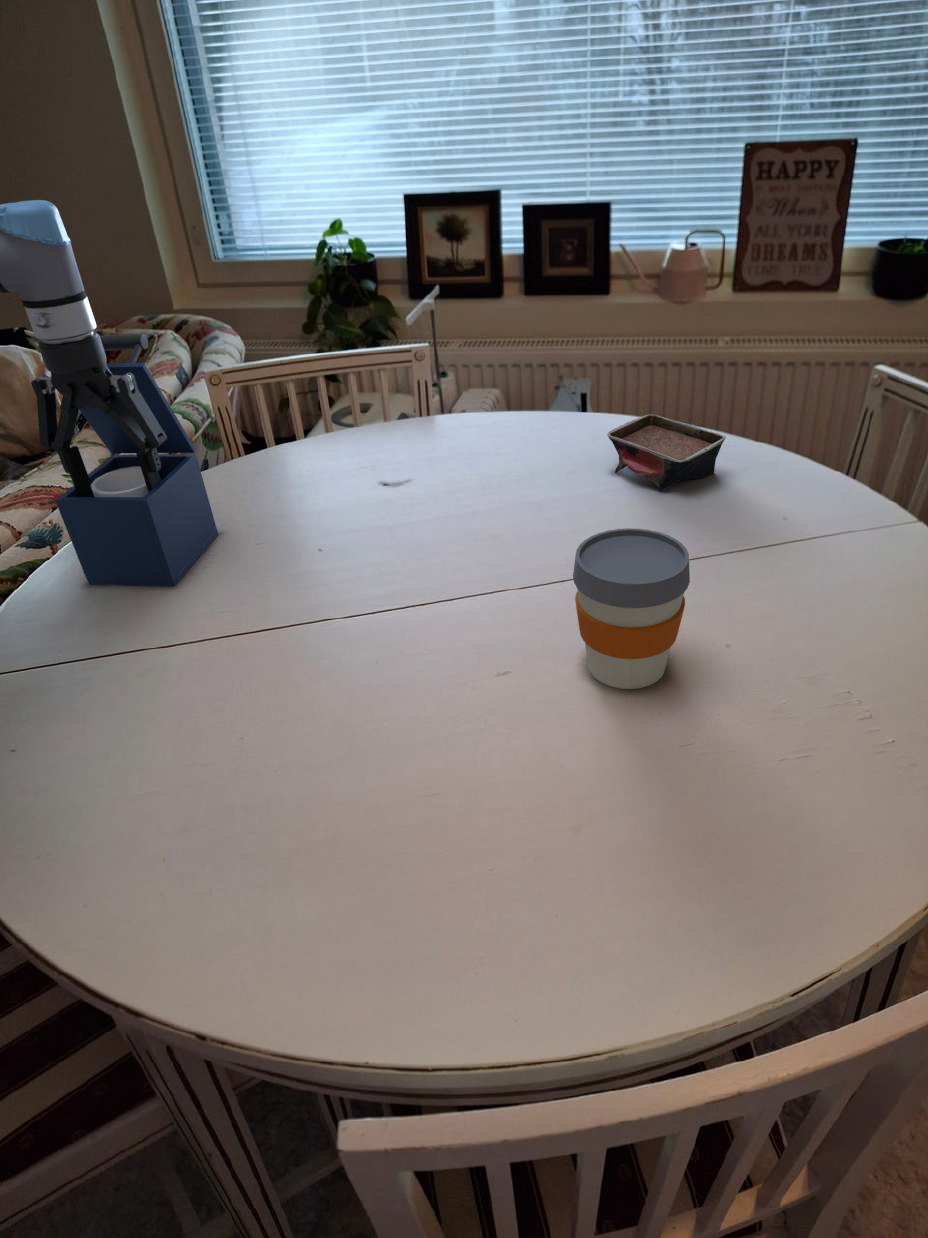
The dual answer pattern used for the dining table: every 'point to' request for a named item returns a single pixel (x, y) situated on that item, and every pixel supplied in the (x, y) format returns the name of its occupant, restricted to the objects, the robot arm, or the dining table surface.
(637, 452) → the bonsai pot
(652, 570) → the reusable coffee cup
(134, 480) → the foam cup
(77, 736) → the dining table surface
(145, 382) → the lid
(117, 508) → the box
